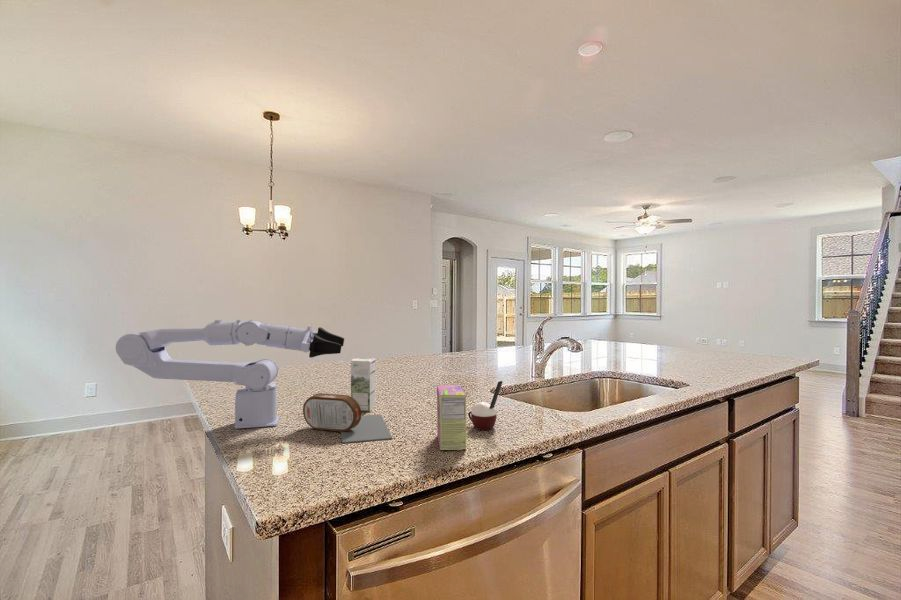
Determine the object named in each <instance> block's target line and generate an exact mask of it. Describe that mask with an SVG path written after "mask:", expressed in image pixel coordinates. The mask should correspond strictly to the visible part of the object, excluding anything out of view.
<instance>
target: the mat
mask: <svg viewBox="0 0 901 600" xmlns="http://www.w3.org/2000/svg"><path fill="white" fill-rule="evenodd" d="M340 435H341V436H340V437H341V438H340V439H341V443H342V444H352V443H361V442H375V441H387V440H393V436H392V434H391V432H390V430H389V429H388V426H387V424H386V421H385V420H384V418H383V416H382V414H368V415H361V420H360V422H359V424H358V425H357V426H356V427H354V428H352V429H350V430H349V431H345V432H341V431H340Z"/></svg>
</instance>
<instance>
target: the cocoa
mask: <svg viewBox="0 0 901 600" xmlns="http://www.w3.org/2000/svg"><path fill="white" fill-rule="evenodd" d="M503 382H504V381H503V380H500V381H498V382H497V384H496V387H495V391H494V394H493V395H492V400H491V402H490V403H488V402H485V401H480V402H478V403H475V404H473V406H472V407H471V411H469V412H468V414H467V415H468V418H469V420H470V421H471V422H472V425H473V427H474V428H476V429H477V428H478V429H477V430H479V429H483V430H482V431H488V430H487V429H489V430H491V429H493V428H494V427H495V424H496V423H497V414H498V409H496V407H495V406H496V403H497V400H498V396H499V393H500V390H501V388H502V386H503Z"/></svg>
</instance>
